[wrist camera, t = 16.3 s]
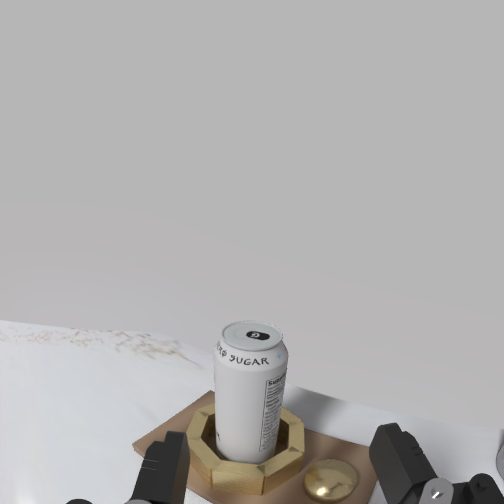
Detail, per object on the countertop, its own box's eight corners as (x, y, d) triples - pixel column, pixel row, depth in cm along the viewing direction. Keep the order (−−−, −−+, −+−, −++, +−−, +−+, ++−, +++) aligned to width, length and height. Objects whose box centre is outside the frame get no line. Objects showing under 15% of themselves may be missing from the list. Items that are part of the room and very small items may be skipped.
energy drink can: (230, 428, 30) (232, 313, 27) (281, 442, 28) (297, 325, 25) (206, 463, 25) (199, 341, 22) (263, 480, 23) (278, 359, 20)
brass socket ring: (342, 423, 31) (349, 402, 30) (355, 502, 19) (366, 484, 18) (204, 413, 33) (203, 392, 32) (175, 488, 21) (170, 469, 20)
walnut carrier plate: (383, 457, 26) (386, 451, 25) (341, 555, 14) (345, 551, 14) (210, 396, 38) (210, 390, 37) (134, 450, 26) (132, 443, 26)
